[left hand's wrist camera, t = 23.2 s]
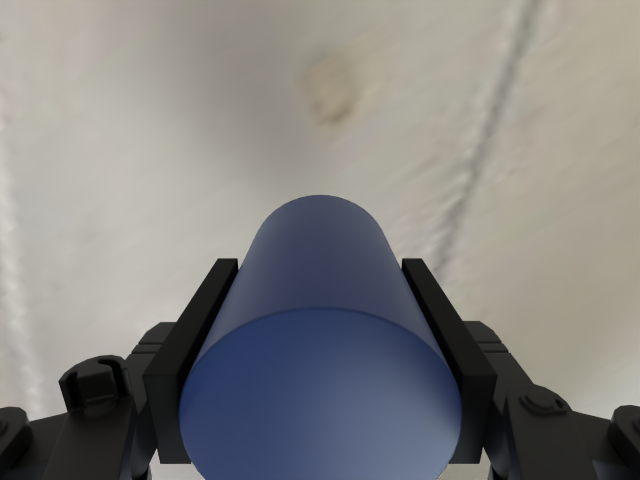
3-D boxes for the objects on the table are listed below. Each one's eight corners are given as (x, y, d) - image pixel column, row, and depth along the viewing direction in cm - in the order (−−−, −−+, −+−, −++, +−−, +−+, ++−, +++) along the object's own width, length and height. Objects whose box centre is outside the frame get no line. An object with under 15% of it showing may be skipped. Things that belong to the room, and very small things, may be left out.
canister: (416, 237, 17) (523, 388, 8) (344, 340, 19) (366, 554, 10) (291, 167, 16) (254, 252, 7) (229, 285, 18) (136, 470, 9)
